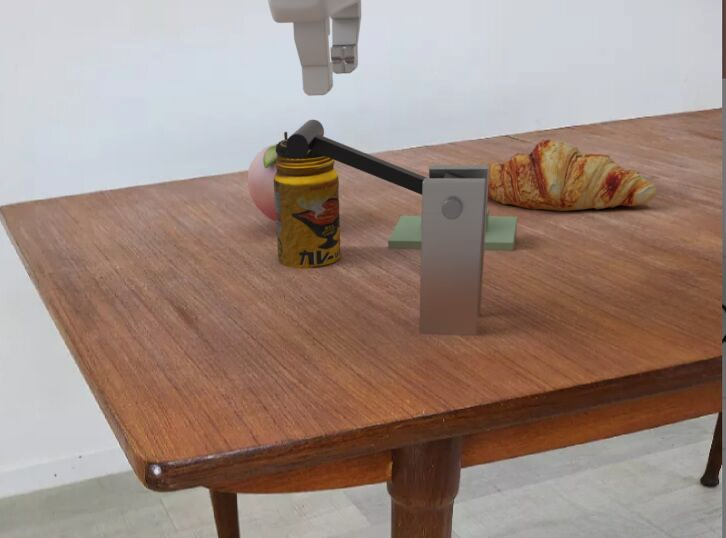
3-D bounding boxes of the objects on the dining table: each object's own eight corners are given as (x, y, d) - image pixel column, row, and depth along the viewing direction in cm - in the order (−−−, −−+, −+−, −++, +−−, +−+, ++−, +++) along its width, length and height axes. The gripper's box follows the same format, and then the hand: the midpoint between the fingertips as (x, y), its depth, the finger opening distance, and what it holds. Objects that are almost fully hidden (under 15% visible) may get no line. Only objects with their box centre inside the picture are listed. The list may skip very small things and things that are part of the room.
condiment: (337, 285, 88) (333, 149, 82) (250, 283, 90) (239, 149, 83) (351, 261, 94) (348, 132, 87) (269, 260, 96) (260, 133, 89)
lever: (281, 159, 68) (291, 125, 67) (298, 143, 73) (307, 111, 71) (463, 231, 68) (476, 199, 67) (469, 211, 73) (482, 180, 71)
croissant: (651, 233, 108) (666, 160, 107) (648, 210, 99) (665, 131, 97) (470, 217, 115) (483, 149, 114) (452, 196, 106) (466, 121, 105)
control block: (515, 238, 98) (519, 198, 96) (511, 265, 91) (515, 222, 88) (400, 236, 100) (401, 197, 98) (388, 263, 93) (388, 221, 91)
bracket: (380, 357, 74) (380, 186, 67) (395, 320, 80) (396, 161, 73) (510, 362, 72) (524, 186, 65) (515, 324, 78) (528, 160, 71)
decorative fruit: (270, 215, 110) (264, 122, 104) (336, 218, 107) (333, 123, 102) (237, 238, 103) (229, 140, 97) (307, 242, 100) (303, 141, 95)
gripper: (340, -175, 50) (349, 107, 58) (395, -159, 67) (396, 60, 75) (228, -164, 52) (251, 110, 60) (309, -151, 68) (318, 63, 76)
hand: (332, 82), depth 67 cm, fingers open, 8 cm apart
